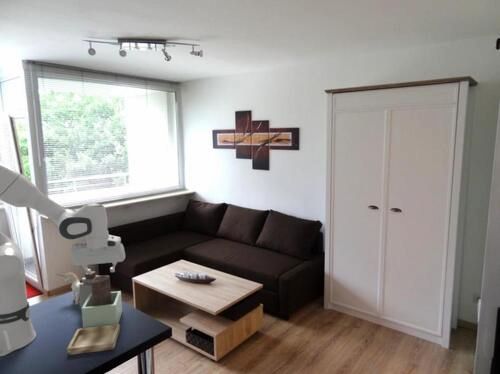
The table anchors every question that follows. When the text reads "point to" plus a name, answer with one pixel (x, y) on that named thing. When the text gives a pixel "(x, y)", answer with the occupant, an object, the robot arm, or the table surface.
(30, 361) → the table surface
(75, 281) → the unicorn figurine
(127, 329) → the table surface
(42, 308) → the table surface
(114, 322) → the mint green open box
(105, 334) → the tray
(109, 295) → the wooden log
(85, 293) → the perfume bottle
